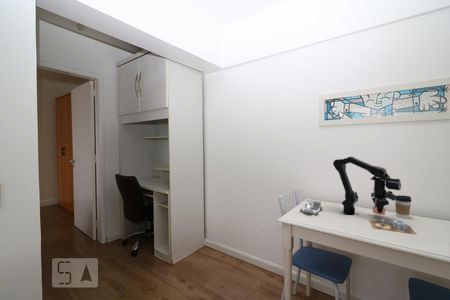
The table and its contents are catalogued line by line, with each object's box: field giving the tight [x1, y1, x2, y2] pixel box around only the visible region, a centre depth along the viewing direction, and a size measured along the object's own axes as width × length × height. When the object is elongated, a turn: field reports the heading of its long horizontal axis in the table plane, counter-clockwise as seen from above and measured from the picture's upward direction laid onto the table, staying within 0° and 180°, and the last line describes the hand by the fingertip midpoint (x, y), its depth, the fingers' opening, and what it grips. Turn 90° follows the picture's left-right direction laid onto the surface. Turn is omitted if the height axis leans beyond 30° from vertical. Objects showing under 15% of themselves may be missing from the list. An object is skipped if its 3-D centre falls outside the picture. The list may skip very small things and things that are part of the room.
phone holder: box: [299, 198, 323, 217], centre depth 153 cm, size 18×10×12 cm
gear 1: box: [372, 205, 386, 216], centre depth 135 cm, size 6×6×4 cm
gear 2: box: [392, 219, 408, 231], centre depth 121 cm, size 6×6×4 cm
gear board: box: [368, 218, 418, 236], centre depth 122 cm, size 20×13×6 cm, turn 64°
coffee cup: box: [395, 195, 412, 219], centre depth 138 cm, size 8×8×15 cm
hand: (378, 211), depth 135 cm, fingers closed on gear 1, 6 cm apart
